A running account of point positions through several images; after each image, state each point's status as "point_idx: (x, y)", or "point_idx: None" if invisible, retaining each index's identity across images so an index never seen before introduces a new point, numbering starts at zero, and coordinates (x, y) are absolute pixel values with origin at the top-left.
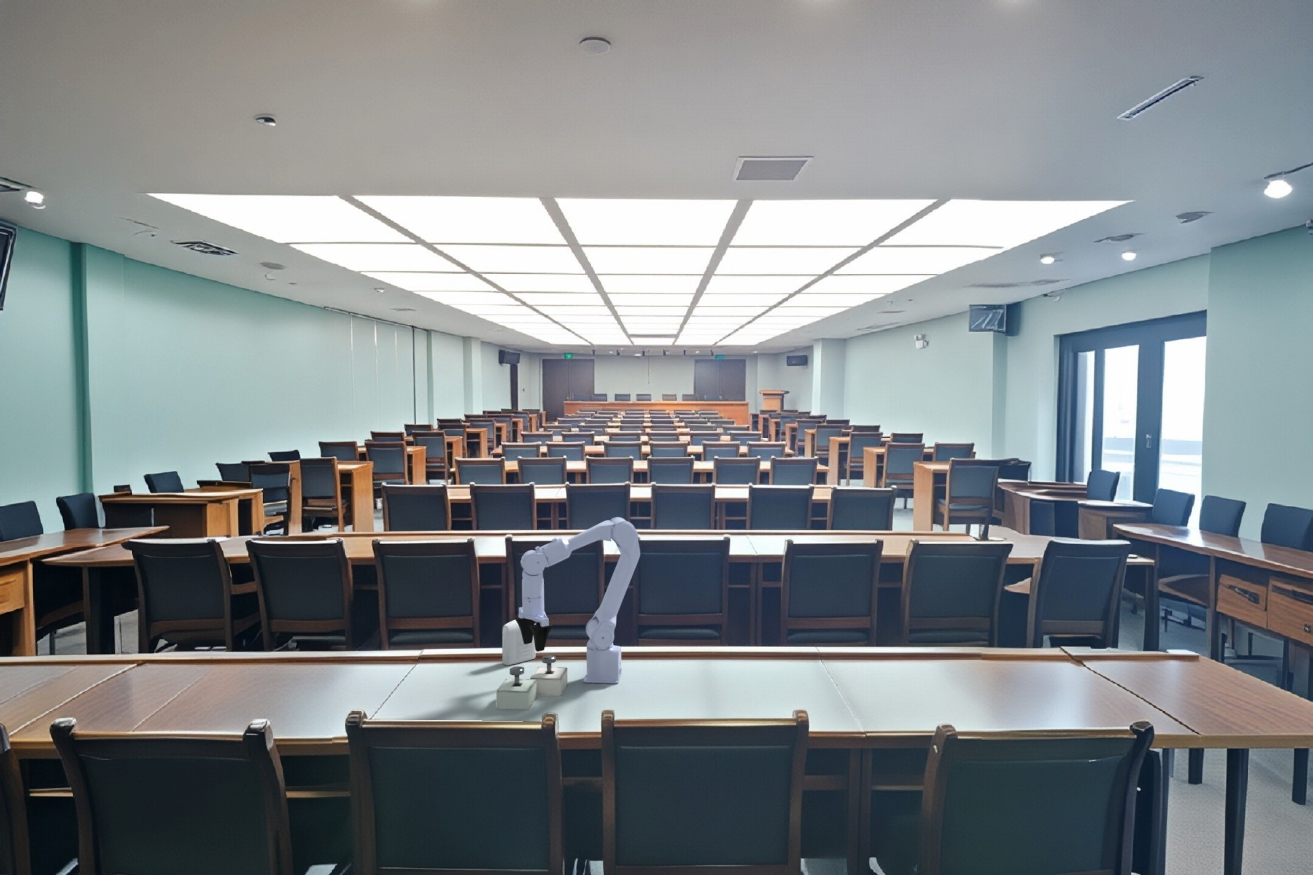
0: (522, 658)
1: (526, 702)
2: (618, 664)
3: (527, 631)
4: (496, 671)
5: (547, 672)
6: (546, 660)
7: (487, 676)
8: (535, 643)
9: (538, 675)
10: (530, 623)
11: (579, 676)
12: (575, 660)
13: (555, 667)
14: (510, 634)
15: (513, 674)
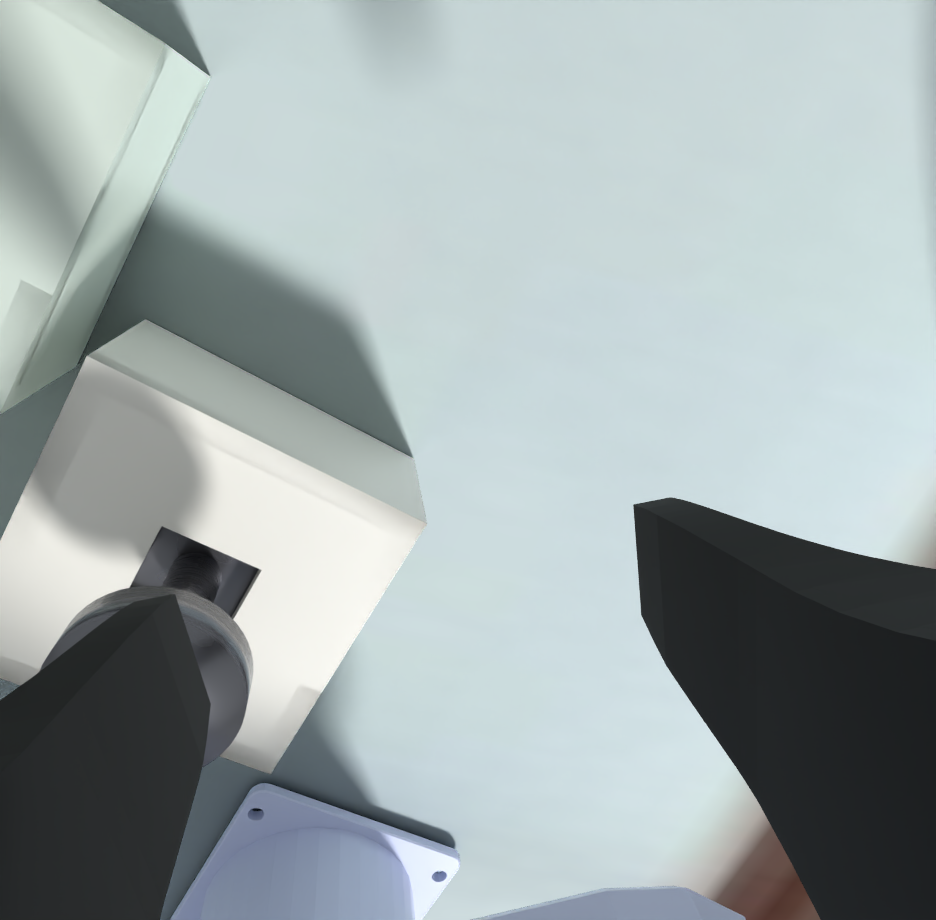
0: None
1: None
2: None
3: (748, 676)
4: (914, 171)
5: (172, 573)
6: (55, 646)
7: (843, 41)
8: (47, 670)
9: (134, 464)
10: (851, 879)
11: (415, 779)
12: (751, 818)
13: (321, 677)
14: None
15: None
